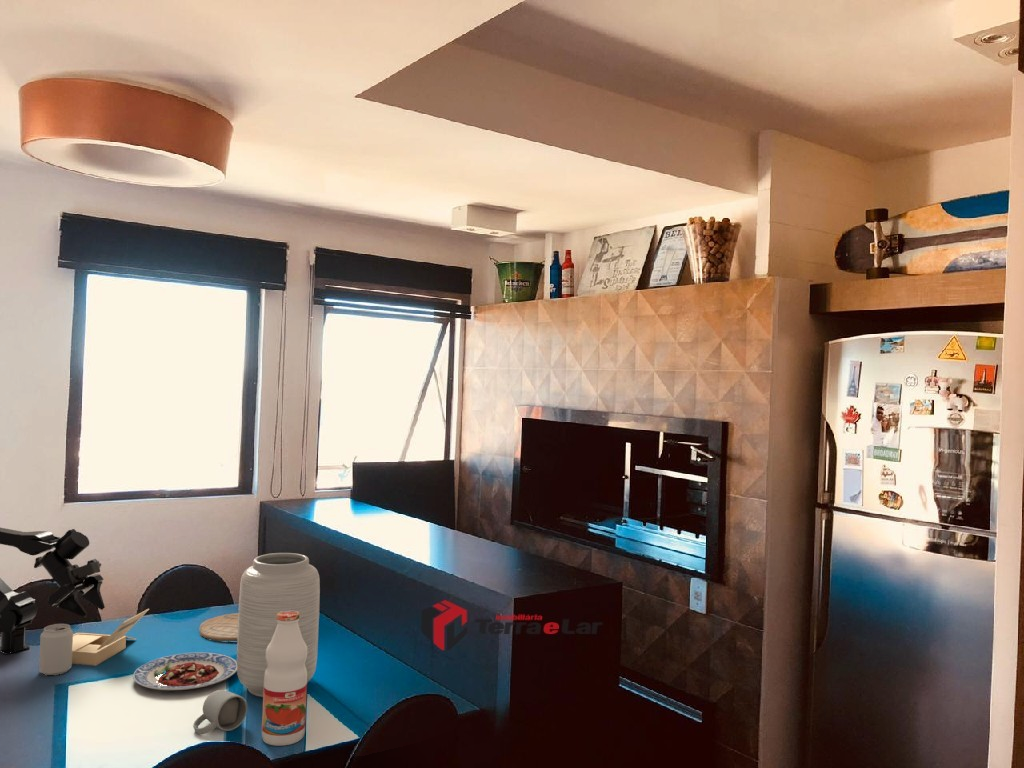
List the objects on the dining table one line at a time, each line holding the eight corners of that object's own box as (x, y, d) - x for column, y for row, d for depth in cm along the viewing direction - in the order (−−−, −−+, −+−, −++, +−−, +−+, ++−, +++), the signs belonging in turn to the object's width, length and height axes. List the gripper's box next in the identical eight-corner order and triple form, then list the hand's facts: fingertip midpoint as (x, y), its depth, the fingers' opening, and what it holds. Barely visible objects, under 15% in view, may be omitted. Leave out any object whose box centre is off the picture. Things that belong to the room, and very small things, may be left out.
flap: (96, 649, 212) (123, 621, 211) (123, 634, 224) (148, 608, 223) (97, 650, 211) (124, 622, 211) (124, 635, 224) (149, 609, 223)
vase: (288, 708, 189) (293, 571, 189) (218, 695, 195) (223, 562, 195) (330, 678, 208) (335, 554, 208) (266, 667, 214) (270, 547, 214)
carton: (43, 661, 212) (44, 649, 212) (91, 636, 233) (91, 625, 233) (95, 665, 211) (96, 652, 211) (138, 640, 231) (139, 628, 231)
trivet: (224, 615, 259) (224, 609, 259) (295, 621, 256) (295, 615, 256) (182, 639, 235) (183, 633, 235) (260, 646, 231) (260, 640, 231)
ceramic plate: (258, 671, 212) (258, 660, 212) (183, 705, 189) (184, 693, 189) (189, 654, 223) (189, 643, 223) (110, 684, 199) (110, 672, 199)
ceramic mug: (228, 714, 185) (229, 682, 184) (247, 724, 179) (248, 692, 179) (186, 729, 176) (186, 695, 176) (204, 740, 171) (205, 706, 171)
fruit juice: (301, 725, 180) (306, 605, 180) (308, 743, 172) (313, 617, 171) (259, 731, 176) (264, 608, 176) (263, 749, 168) (268, 621, 168)
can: (56, 678, 201) (58, 632, 201) (31, 674, 203) (33, 629, 203) (78, 668, 209) (79, 623, 209) (54, 664, 210) (56, 620, 210)
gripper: (64, 556, 210) (99, 601, 209) (100, 546, 229) (133, 587, 228) (31, 583, 209) (66, 627, 209) (71, 570, 228) (103, 611, 227)
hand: (94, 612), depth 218 cm, fingers open, 9 cm apart
